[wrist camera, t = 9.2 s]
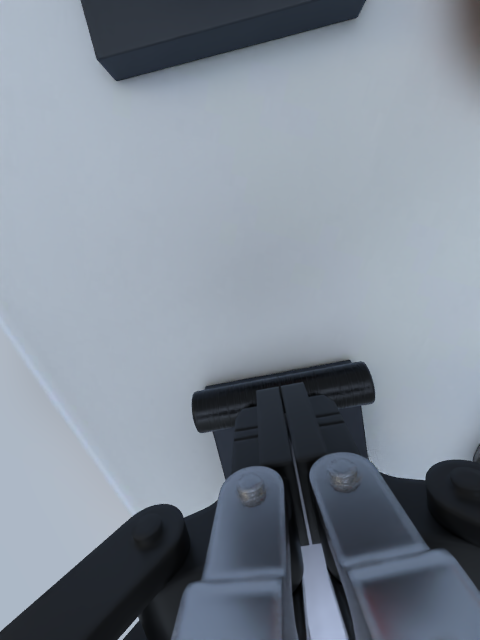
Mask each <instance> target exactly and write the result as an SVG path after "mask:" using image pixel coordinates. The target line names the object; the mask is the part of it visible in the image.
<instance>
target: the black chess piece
mask: <svg viewBox="0 0 480 640" xmlns="http://www.w3.org/2000/svg"><path fill="white" fill-rule="evenodd" d="M473 462H477V463H480V446H479V447H478V449H477V451H476V453H475V456H474V459H473Z"/></svg>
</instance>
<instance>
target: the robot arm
mask: <svg viewBox="0 0 480 640" xmlns="http://www.w3.org/2000/svg"><path fill="white" fill-rule="evenodd" d="M281 391H282V396H283V401H284V406H285V411H286V416H287V421H288V426H289V431H290V436H291V441H292V446H293V451H294V456H295V461H296V466H297V471H298V476H299V481H300V486H301V491H302V496H303V501H304V505H305V510H306V515H307V520H308V525H309V530H310V535H311V540H312V545H313V544H320V543H321V545H322V549H323V553H324V558H325V562H326V568H327V573H328V578H329V582H330V586H331V589H332V592H333V595H334V599H335V602H336V605H337V609H338V612H339V615H340V618H341V622H342V625H343V628H344V632H345V635H346V638H347V640H480V463H477V462H472V461H467V460H447V461H442V462H439V463H437V464H435V465H433V466H432V467H431V468H430V469H429V470H428V472H427V474H426V480H415V479H404V478H397V477H392V476H389V475H386V474H383V473H381V472H379V471H378V470H377V468H376V467H375V466H374V464H373V463H372V462H370V461H369V460H368V459H366V458H365V457H362V456H361V454H360V452H359V450H358V448H357V446H356V444H355V442H354V440H353V438H352V436H351V434H350V432H349V430H348V428H347V426H346V424H345V423H344V420H343V418H342V416H341V414H340V412H339V410H338V408H337V406H336V404H335V402H334V401H333V400H331V399H330V398H328V397H327V396H325V395H318V396H312V397H308V394H307V391H306V388H305V386H304V383H303V382H301V383H295V384H290V385H284V386H281ZM256 397H257V406H256V407H251V408H245V409H242V410H241V412H240V413H239V415H238V416H237V418H236V419H235V432H234V444H233V458H232V472H231V476H229V477H228V478H227V479H226V480H225V482H224V483H223V485H222V487H221V489H220V493H219V497H218V500H217V501H216V502H215V503H214V504H212V505H210V506H209V507H207V508H205V509H203V510H201V511H198V512H196V513H194V514H192V515H189V516H187V517H185V518H183V515H182V513H181V511H180V510H179V509H178V508H177V507H175V506H173V505H169V504H159V505H154V506H151V507H148V508H145V509H144V510H142V511H140V512H138V513H137V514H135V515H134V516H133V517H131V518H130V519H129V520H128V521H127V522H125V523H124V524H123V525H122V526H121V527H120V528H119V529H117V530H116V531H115V532H114V533H113V534H112V535H111V536H109V537H108V538H107V539H106V540H105V541H104V542H103V543H102V544H100V545H99V546H98V547H97V548H96V549H95V550H93V551H92V552H91V553H90V554H89V555H88V556H86V557H85V558H84V559H83V560H82V561H81V562H80V563H79V564H77V565H76V566H75V567H74V568H73V569H72V570H70V572H68V573H67V574H66V575H65V576H64V577H63V578H61V579H60V580H59V581H58V582H57V583H56V584H54V585H53V586H52V587H51V588H50V589H49V590H48V591H46V592H45V593H44V594H43V595H42V596H41V597H40V598H38V599H37V600H36V601H35V602H34V603H33V604H31V605H30V606H29V607H28V608H27V609H26V610H25V611H23V612H22V613H21V614H20V615H19V616H18V617H17V618H15V619H14V620H13V621H12V622H11V623H10V624H9V625H7V626H6V627H5V628H4V629H3V630H2V631H1V632H0V640H118V639H119V637H120V636H121V635H122V634H123V633H124V632H125V631H126V629H127V628H128V627H129V626H130V625H131V624H132V622H133V621H134V620H135V619H136V618H137V617H139V622H138V623H137V624H136V625H135V626H134V627H133V628H132V630H131V631H130V632H129V633H128V634H127V635H126V636H125V638H124V639H123V640H309V629H308V617H307V605H306V593H305V583H304V578H303V572H304V563H303V557H302V551H301V546H308V545H309V540H308V535H307V530H306V524H305V519H304V514H303V509H302V504H301V498H300V493H299V488H298V483H297V478H296V472H295V467H294V462H293V457H292V452H291V446H290V441H289V436H288V431H287V426H286V421H285V416H284V411H283V406H282V401H281V396H280V391H279V387H273V388H268V389H262V390H257V391H256Z"/></svg>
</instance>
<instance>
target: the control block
mask: <svg viewBox="0 0 480 640" xmlns="http://www.w3.org/2000/svg"><path fill="white" fill-rule="evenodd" d="M365 1H366V0H81V4H82V7H83V11H84V14H85V18H86V22H87V25H88V29H89V33H90V36H91V40H92V43H93V47H94V51H95V54H96V58H97V60H98V61H99V62H100V63H101V64H102V66H103V67H104V68H105V69H106V70H107V71H108V72H109V74H110V75H111V76H112V77H113V78H114V79H115V80H116V81H118V80H122V79H126V78H130V77H134V76H137V75H141V74H145V73H149V72H152V71H156V70H160V69H164V68H168V67H171V66H175V65H179V64H183V63H186V62H190V61H194V60H198V59H202V58H205V57H209V56H213V55H217V54H220V53H224V52H228V51H232V50H236V49H239V48H243V47H247V46H251V45H254V44H258V43H262V42H266V41H269V40H273V39H277V38H281V37H285V36H288V35H292V34H296V33H300V32H303V31H307V30H311V29H315V28H319V27H322V26H326V25H330V24H334V23H337V22H341V21H345V20H349V19H353V18H356V17H358V15H359V13H360V11H361V9H362V7H363V5H364V3H365Z"/></svg>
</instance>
